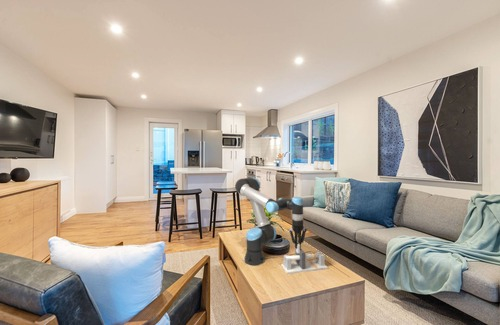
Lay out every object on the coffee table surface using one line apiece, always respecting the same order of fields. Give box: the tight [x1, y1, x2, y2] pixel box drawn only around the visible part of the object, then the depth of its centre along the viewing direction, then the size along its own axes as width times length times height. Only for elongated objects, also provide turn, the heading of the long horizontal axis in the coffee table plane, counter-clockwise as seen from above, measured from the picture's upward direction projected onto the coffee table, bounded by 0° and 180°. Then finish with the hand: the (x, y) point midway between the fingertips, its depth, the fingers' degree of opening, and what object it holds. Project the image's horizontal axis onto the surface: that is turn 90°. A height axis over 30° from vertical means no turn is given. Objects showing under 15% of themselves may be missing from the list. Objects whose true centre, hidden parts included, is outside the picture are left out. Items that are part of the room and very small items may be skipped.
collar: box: [295, 247, 306, 269], centre depth 164 cm, size 2×11×11 cm, turn 12°
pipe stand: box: [280, 251, 329, 275], centre depth 165 cm, size 30×12×9 cm, turn 102°
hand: (297, 252), depth 163 cm, fingers closed
